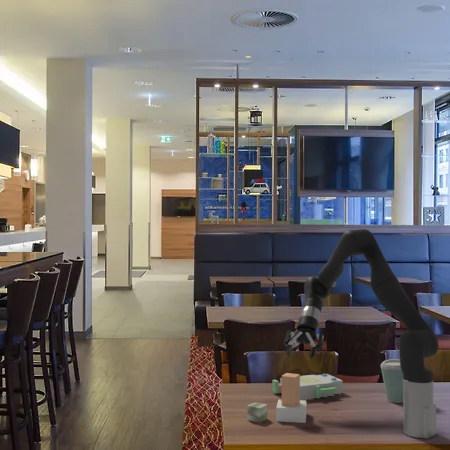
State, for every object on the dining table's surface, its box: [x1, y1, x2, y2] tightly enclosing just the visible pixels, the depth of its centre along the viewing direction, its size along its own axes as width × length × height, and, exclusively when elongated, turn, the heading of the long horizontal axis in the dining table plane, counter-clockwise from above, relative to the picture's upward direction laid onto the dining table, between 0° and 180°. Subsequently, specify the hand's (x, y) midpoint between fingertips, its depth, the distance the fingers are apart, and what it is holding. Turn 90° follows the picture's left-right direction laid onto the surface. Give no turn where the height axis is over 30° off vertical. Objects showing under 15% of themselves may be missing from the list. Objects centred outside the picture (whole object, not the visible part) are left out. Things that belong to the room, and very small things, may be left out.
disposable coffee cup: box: [380, 358, 403, 404], centre depth 221 cm, size 11×11×15 cm
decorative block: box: [271, 373, 344, 401], centre depth 231 cm, size 26×6×20 cm
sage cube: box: [246, 402, 268, 423], centre depth 199 cm, size 5×5×5 cm
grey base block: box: [275, 399, 308, 424], centre depth 201 cm, size 10×10×5 cm
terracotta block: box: [281, 372, 301, 407], centre depth 202 cm, size 5×5×10 cm
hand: (299, 356), depth 210 cm, fingers open, 8 cm apart
